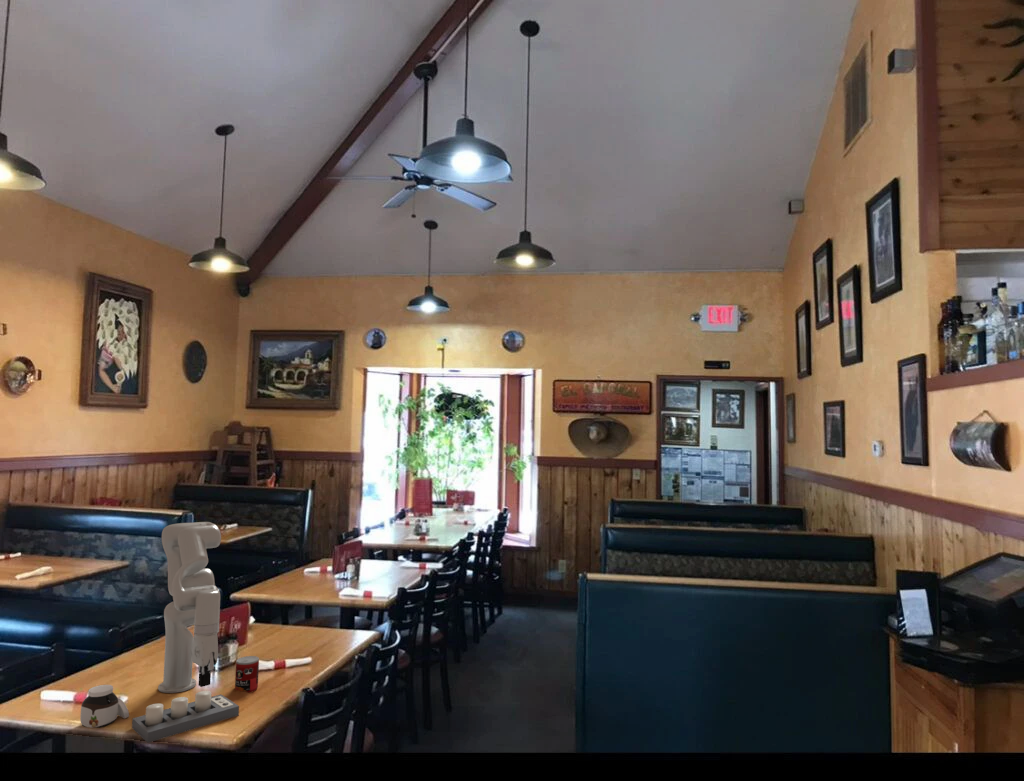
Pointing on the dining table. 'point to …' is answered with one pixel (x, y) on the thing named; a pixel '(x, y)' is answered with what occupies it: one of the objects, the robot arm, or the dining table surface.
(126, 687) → the dining table surface
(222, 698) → the board
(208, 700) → the button
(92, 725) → the spread jar
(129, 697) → the dining table surface
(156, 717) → the button
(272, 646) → the dining table surface
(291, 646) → the dining table surface
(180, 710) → the button
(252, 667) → the canned food
